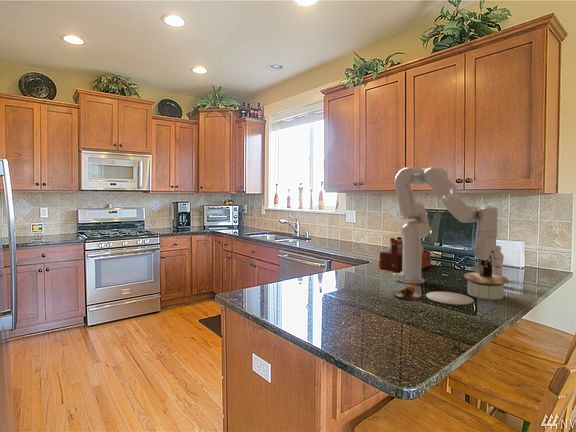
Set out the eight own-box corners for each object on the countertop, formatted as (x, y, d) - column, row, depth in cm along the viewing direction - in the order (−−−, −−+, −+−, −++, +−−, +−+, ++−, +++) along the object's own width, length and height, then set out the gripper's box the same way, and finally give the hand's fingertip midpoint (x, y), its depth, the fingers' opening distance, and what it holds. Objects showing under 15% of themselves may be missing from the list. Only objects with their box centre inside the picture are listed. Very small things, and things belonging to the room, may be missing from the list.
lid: (474, 283, 147) (475, 269, 147) (458, 274, 164) (458, 261, 164) (516, 284, 146) (516, 270, 146) (495, 275, 163) (495, 262, 162)
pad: (434, 304, 142) (434, 303, 142) (420, 291, 161) (420, 291, 161) (482, 305, 141) (482, 304, 141) (462, 292, 159) (462, 292, 159)
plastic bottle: (498, 287, 169) (499, 247, 168) (484, 284, 175) (486, 245, 174) (505, 286, 172) (507, 246, 171) (492, 283, 178) (493, 244, 177)
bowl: (476, 299, 149) (476, 286, 149) (462, 290, 163) (462, 278, 163) (509, 300, 148) (510, 286, 147) (493, 291, 162) (493, 279, 161)
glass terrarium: (401, 292, 161) (401, 277, 160) (426, 298, 152) (426, 281, 152) (388, 298, 152) (388, 281, 152) (414, 303, 144) (414, 286, 143)
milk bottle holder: (432, 265, 223) (433, 236, 222) (409, 274, 198) (410, 241, 197) (401, 261, 238) (402, 234, 237) (376, 269, 212) (377, 238, 211)
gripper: (470, 232, 162) (468, 270, 163) (487, 236, 146) (485, 279, 147) (486, 232, 162) (485, 271, 163) (505, 236, 145) (504, 279, 146)
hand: (485, 274), depth 155 cm, fingers closed on lid, 3 cm apart
